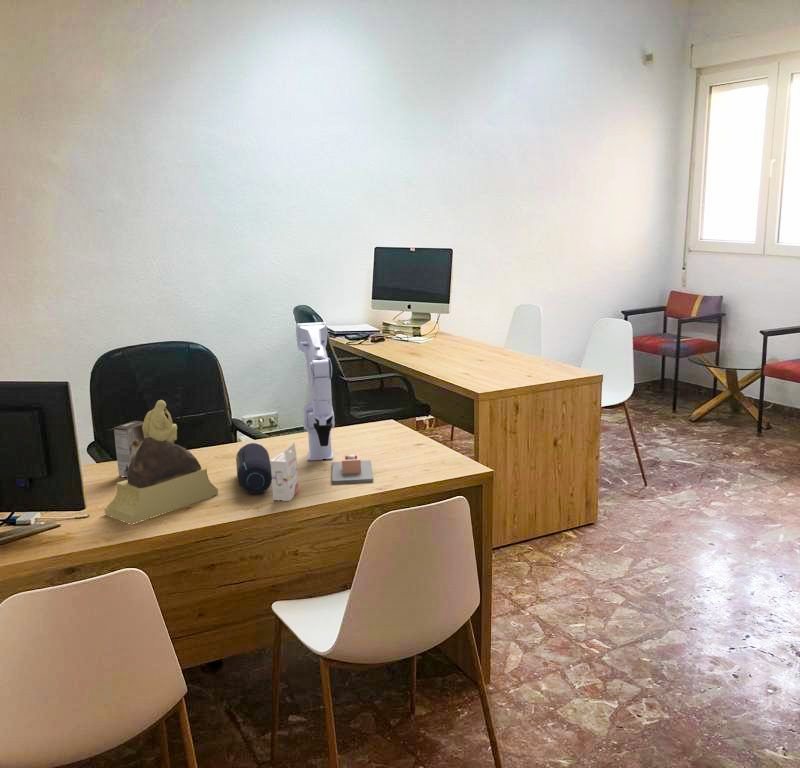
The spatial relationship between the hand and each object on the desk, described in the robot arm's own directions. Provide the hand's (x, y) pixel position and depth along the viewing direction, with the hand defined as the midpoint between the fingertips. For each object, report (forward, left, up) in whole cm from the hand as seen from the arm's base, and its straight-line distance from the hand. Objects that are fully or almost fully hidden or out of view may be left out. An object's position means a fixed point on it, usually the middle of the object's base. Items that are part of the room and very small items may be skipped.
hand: (324, 442), depth 253 cm
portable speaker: (+7, -21, -10) cm, 24 cm away
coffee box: (-8, -59, -10) cm, 60 cm away
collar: (+3, +8, -8) cm, 12 cm away
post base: (+3, +8, -9) cm, 13 cm away
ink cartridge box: (+20, -11, -10) cm, 25 cm away
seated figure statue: (+21, -45, -10) cm, 51 cm away
